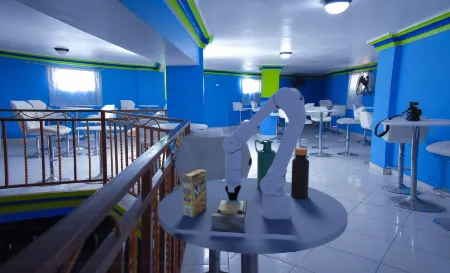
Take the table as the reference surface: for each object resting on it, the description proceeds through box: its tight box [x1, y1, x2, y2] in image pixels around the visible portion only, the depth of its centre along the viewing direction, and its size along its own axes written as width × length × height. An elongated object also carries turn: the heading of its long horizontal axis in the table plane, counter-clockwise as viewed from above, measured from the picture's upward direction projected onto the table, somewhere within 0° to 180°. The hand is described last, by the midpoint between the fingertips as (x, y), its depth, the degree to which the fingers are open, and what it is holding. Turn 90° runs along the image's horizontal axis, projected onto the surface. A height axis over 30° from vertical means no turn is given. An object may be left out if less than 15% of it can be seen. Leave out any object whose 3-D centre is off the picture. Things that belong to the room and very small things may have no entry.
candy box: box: [182, 168, 208, 218], centre depth 100 cm, size 9×4×15 cm, turn 150°
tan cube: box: [221, 204, 238, 214], centre depth 92 cm, size 5×5×5 cm
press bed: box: [209, 196, 248, 234], centre depth 99 cm, size 11×24×5 cm, turn 173°
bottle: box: [290, 147, 310, 200], centre depth 118 cm, size 7×7×20 cm
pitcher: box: [254, 138, 277, 191], centre depth 128 cm, size 10×8×22 cm
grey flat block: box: [217, 199, 245, 215], centre depth 99 cm, size 8×9×3 cm
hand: (233, 205), depth 105 cm, fingers closed
